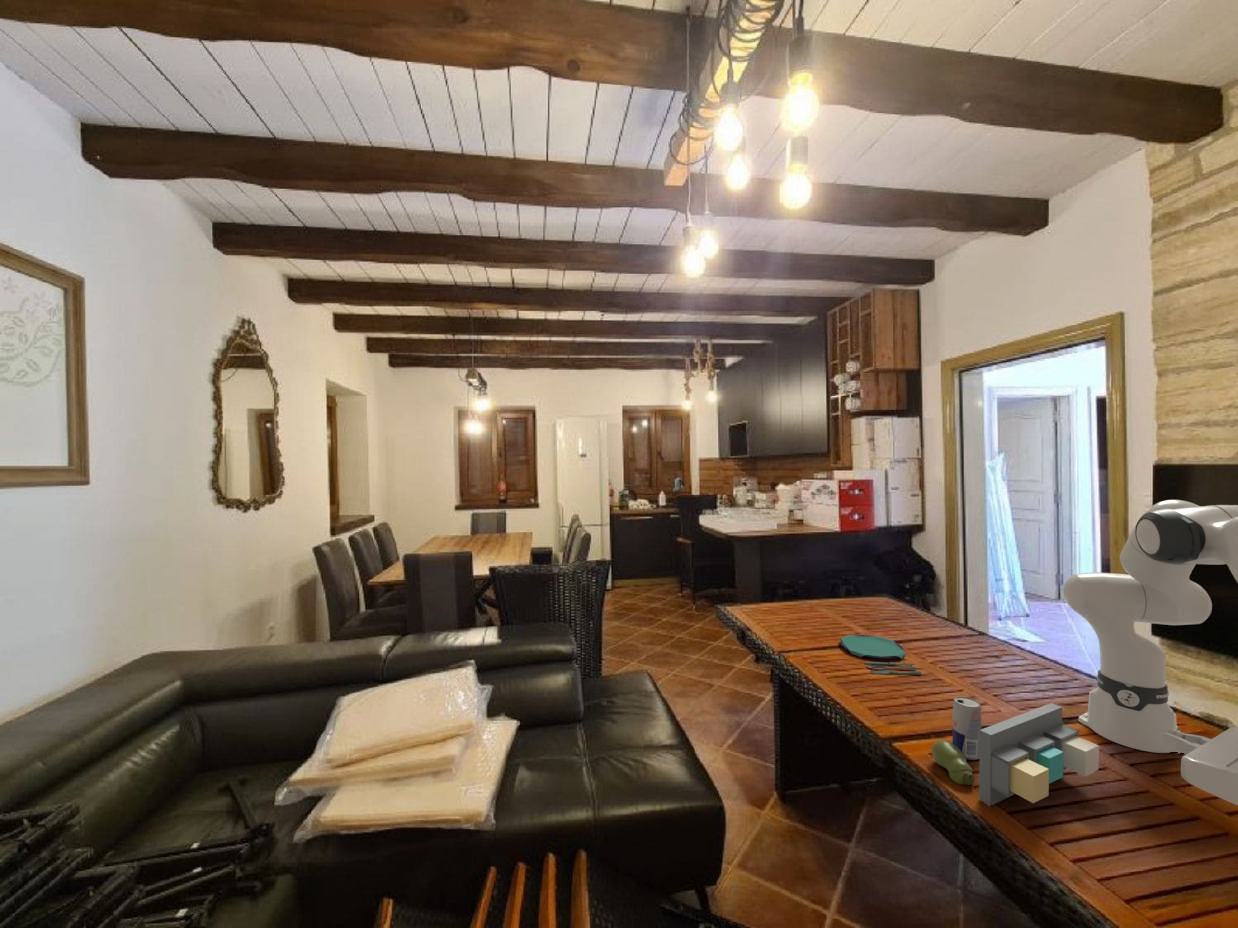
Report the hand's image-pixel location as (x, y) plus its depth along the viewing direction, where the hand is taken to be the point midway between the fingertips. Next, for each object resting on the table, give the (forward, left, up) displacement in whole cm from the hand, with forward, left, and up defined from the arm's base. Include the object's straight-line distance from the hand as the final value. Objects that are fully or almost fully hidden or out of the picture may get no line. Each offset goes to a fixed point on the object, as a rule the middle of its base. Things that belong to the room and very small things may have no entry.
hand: (1167, 735), depth 87 cm
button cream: (-11, -13, -16) cm, 23 cm away
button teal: (-3, -17, -16) cm, 24 cm away
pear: (+2, -31, -21) cm, 37 cm away
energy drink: (-8, -31, -21) cm, 38 cm away
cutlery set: (-50, -69, -21) cm, 88 cm away
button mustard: (+6, -17, -16) cm, 25 cm away
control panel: (-4, -19, -21) cm, 28 cm away
